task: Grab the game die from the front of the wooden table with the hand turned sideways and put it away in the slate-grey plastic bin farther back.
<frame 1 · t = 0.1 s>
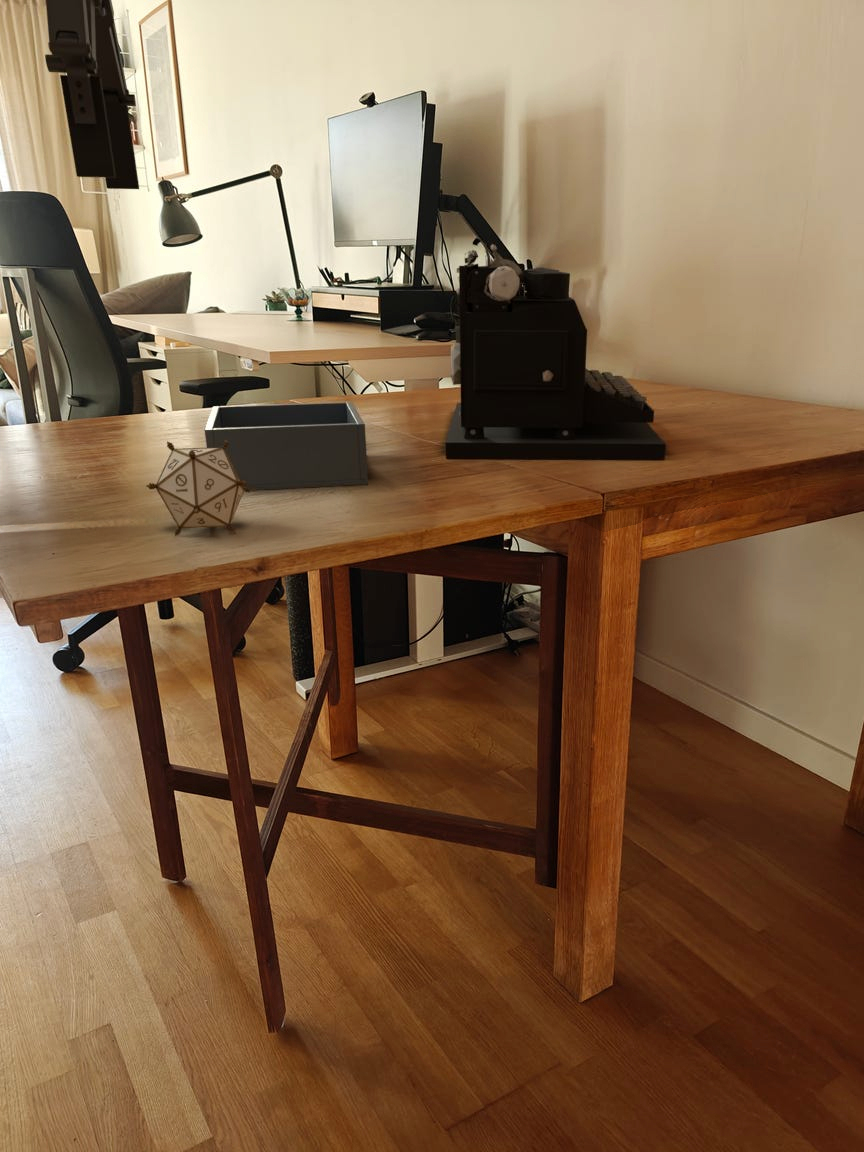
hand: (111, 184, 72), 29 cm above the table, tool pointing down, fingers open, 13 cm apart
bin: (289, 472, 100), on the table
game die: (207, 532, 79), on the table
typewriter: (548, 436, 121), on the table
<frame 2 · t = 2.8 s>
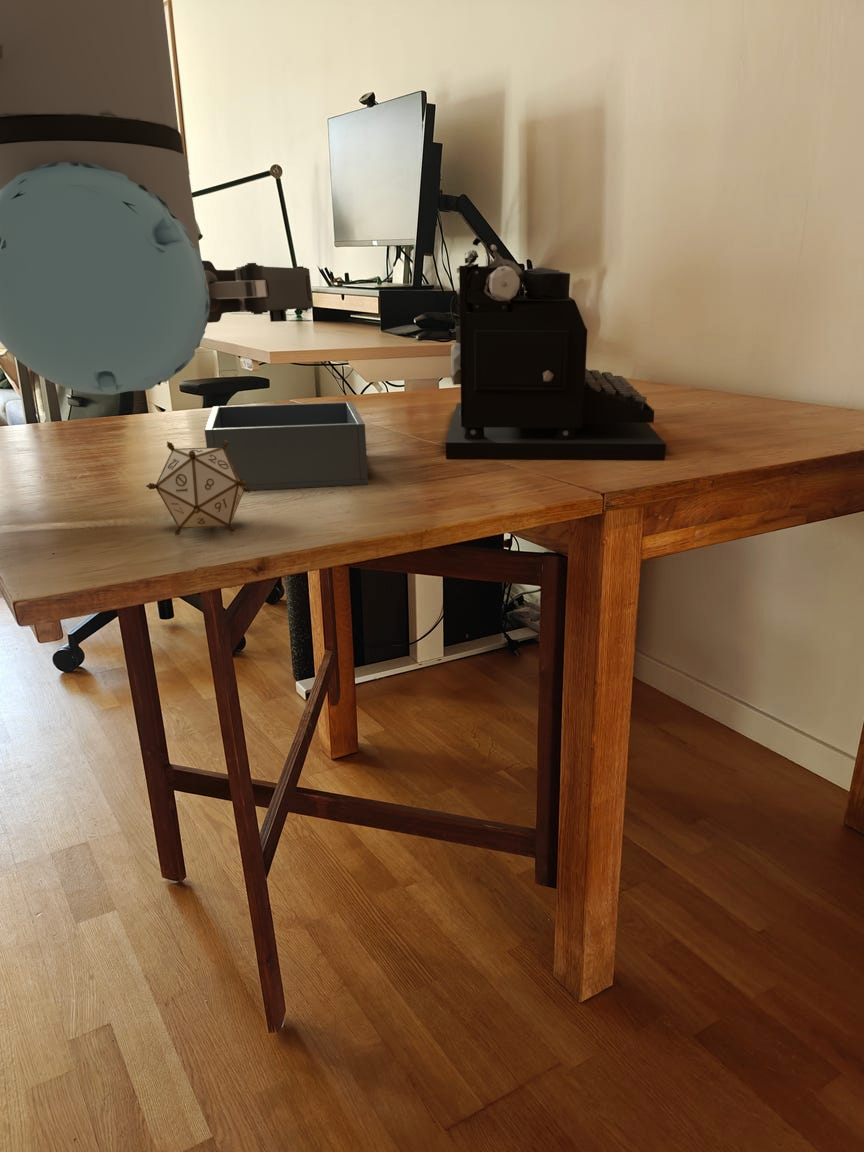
hand: (159, 296, 62), 20 cm above the table, tool horizontal, fingers open, 13 cm apart
nothing on the table moved.
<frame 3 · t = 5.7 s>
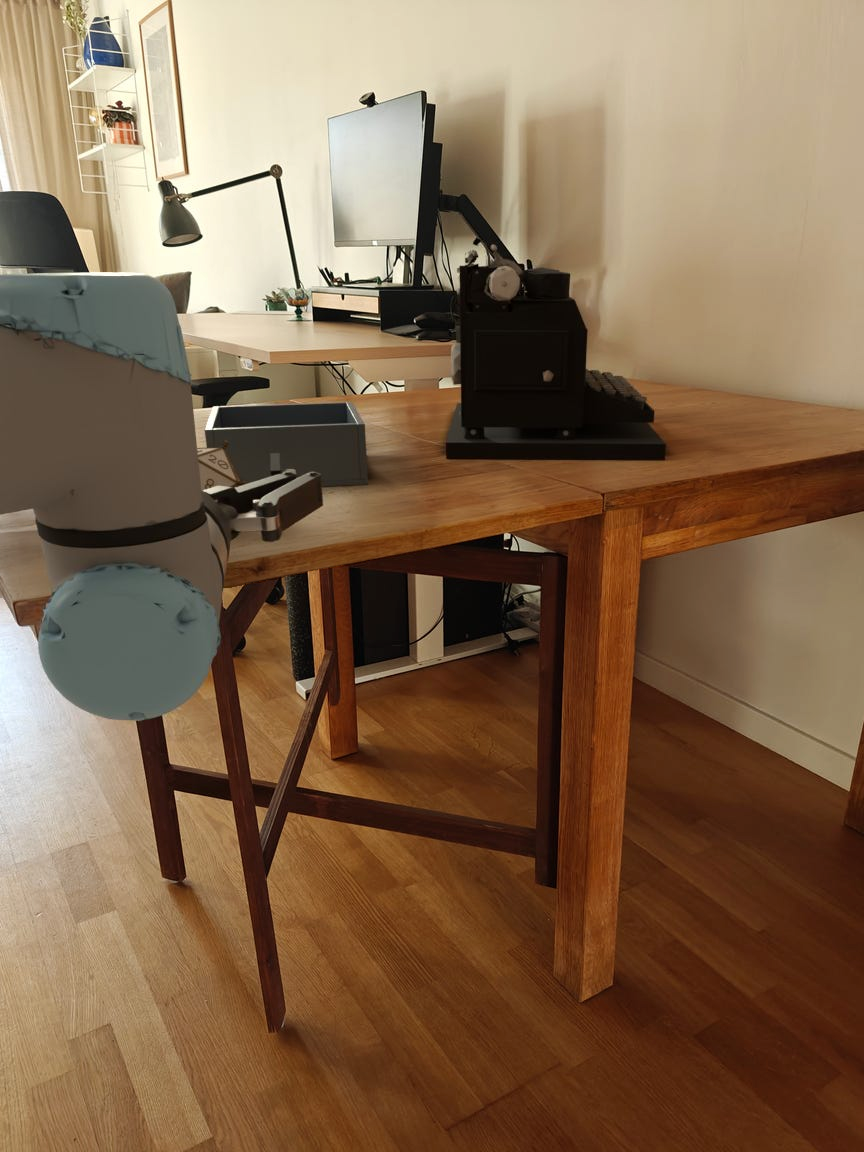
hand: (191, 473, 71), 7 cm above the table, tool horizontal, fingers open, 13 cm apart
nothing on the table moved.
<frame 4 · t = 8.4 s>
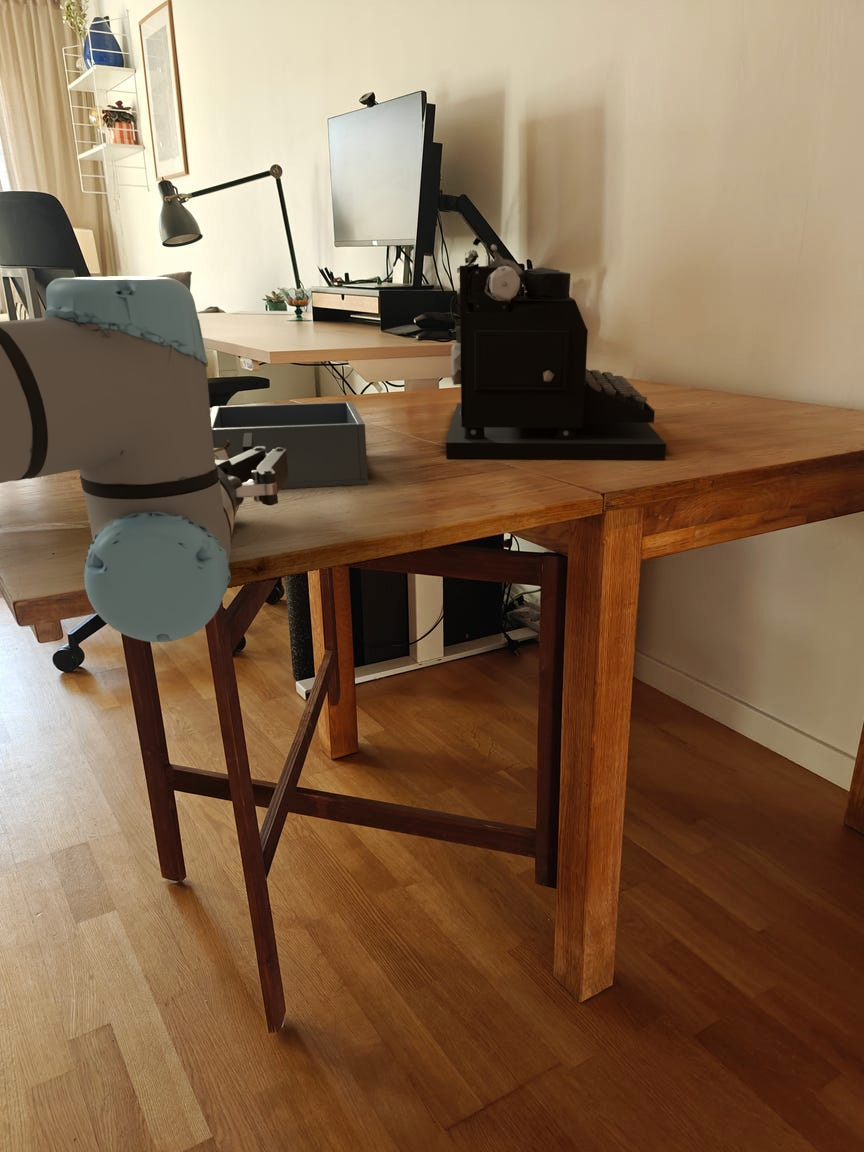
hand: (200, 449, 81), 7 cm above the table, tool horizontal, fingers closed on game die, 8 cm apart
game die: (208, 532, 79), on the table, touching gripper
everything else where it was.
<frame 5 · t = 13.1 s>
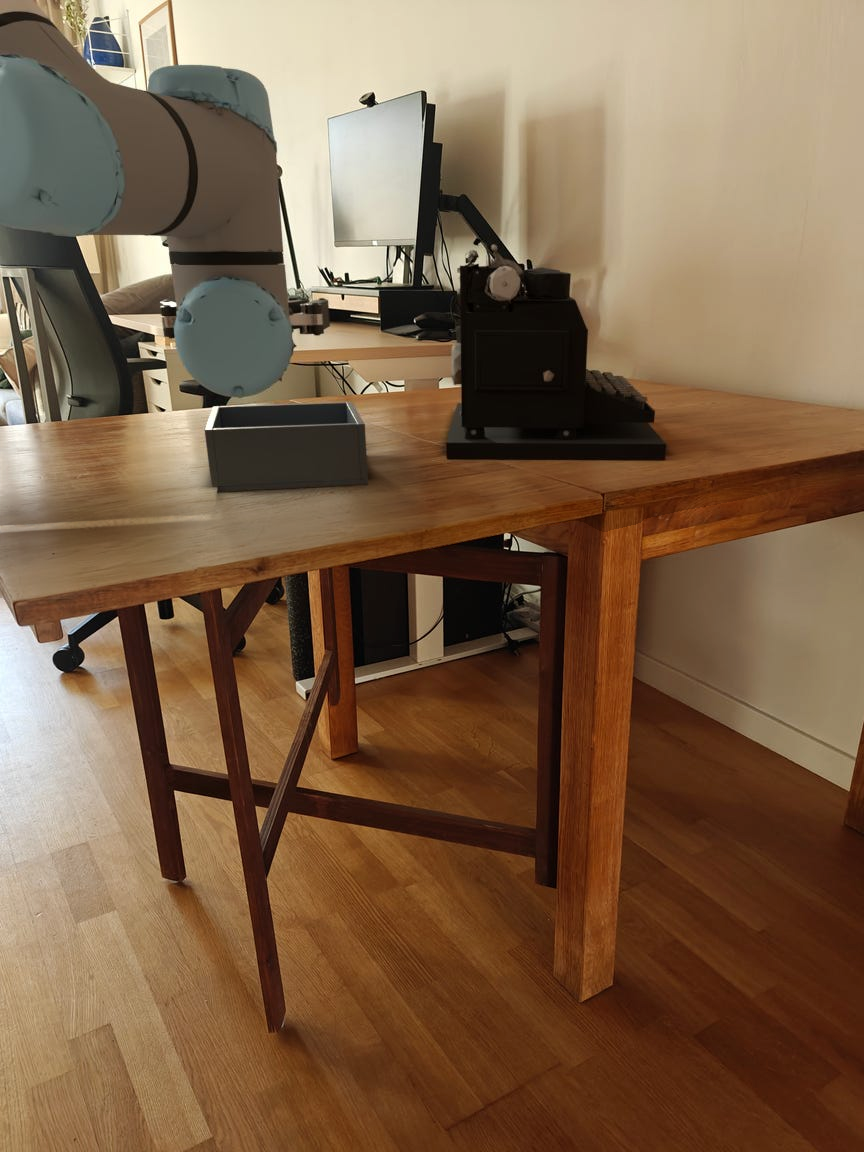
hand: (249, 309, 89), 18 cm above the table, tool horizontal, fingers closed on game die, 8 cm apart
game die: (256, 382, 88), point 11 cm above the table, touching gripper
everything else where it was.
when the fingers open (8 cm above the table, at t = 17.8 s): game die stays where it is, resting on bin.
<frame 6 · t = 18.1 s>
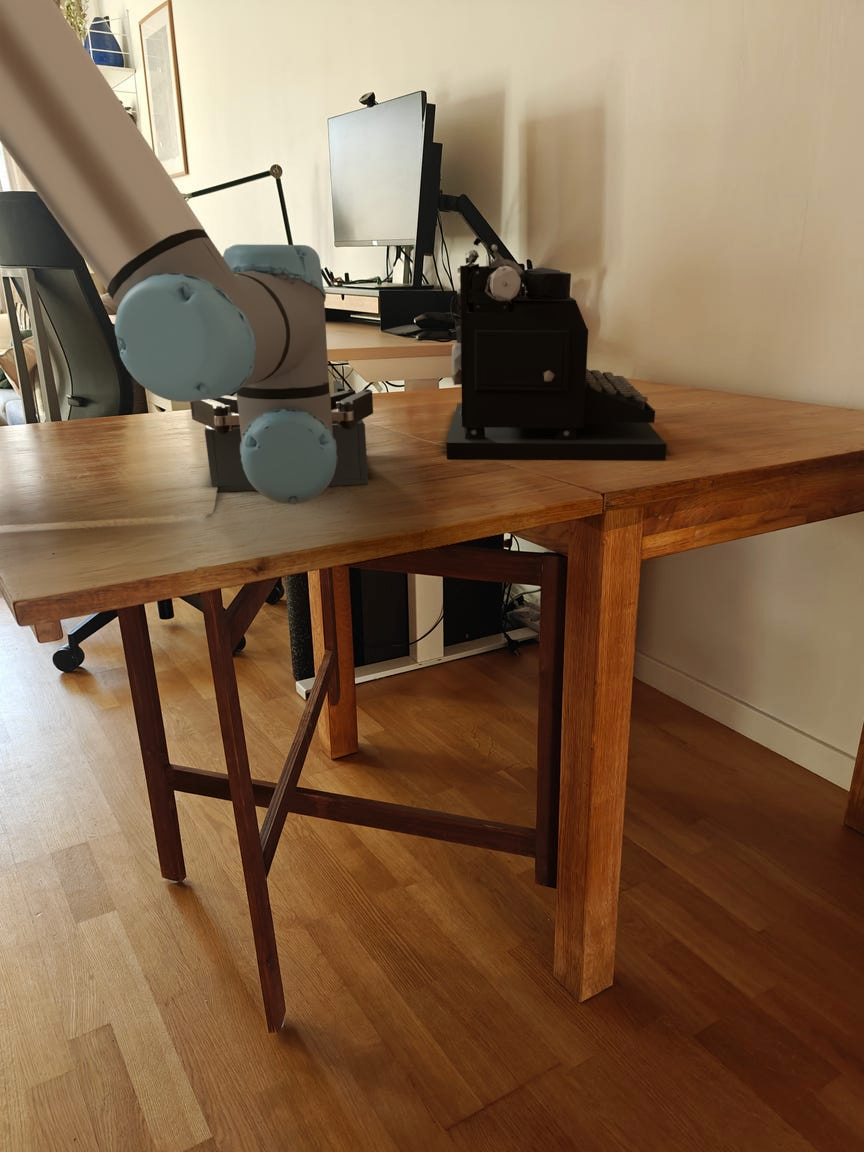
hand: (282, 394, 100), 8 cm above the table, tool horizontal, fingers open, 12 cm apart
game die: (291, 469, 100), resting on bin
everything else where it was.
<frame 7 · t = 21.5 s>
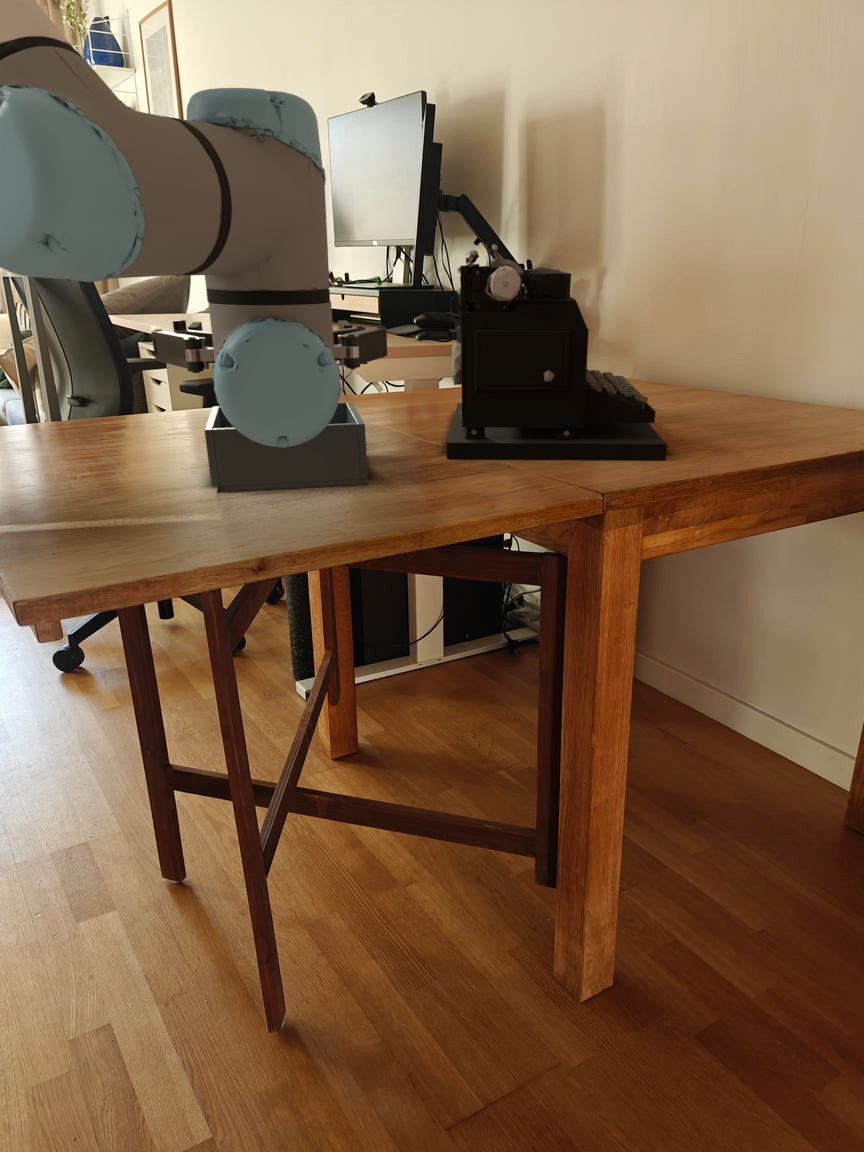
hand: (272, 335, 83), 16 cm above the table, tool horizontal, fingers open, 13 cm apart
nothing on the table moved.
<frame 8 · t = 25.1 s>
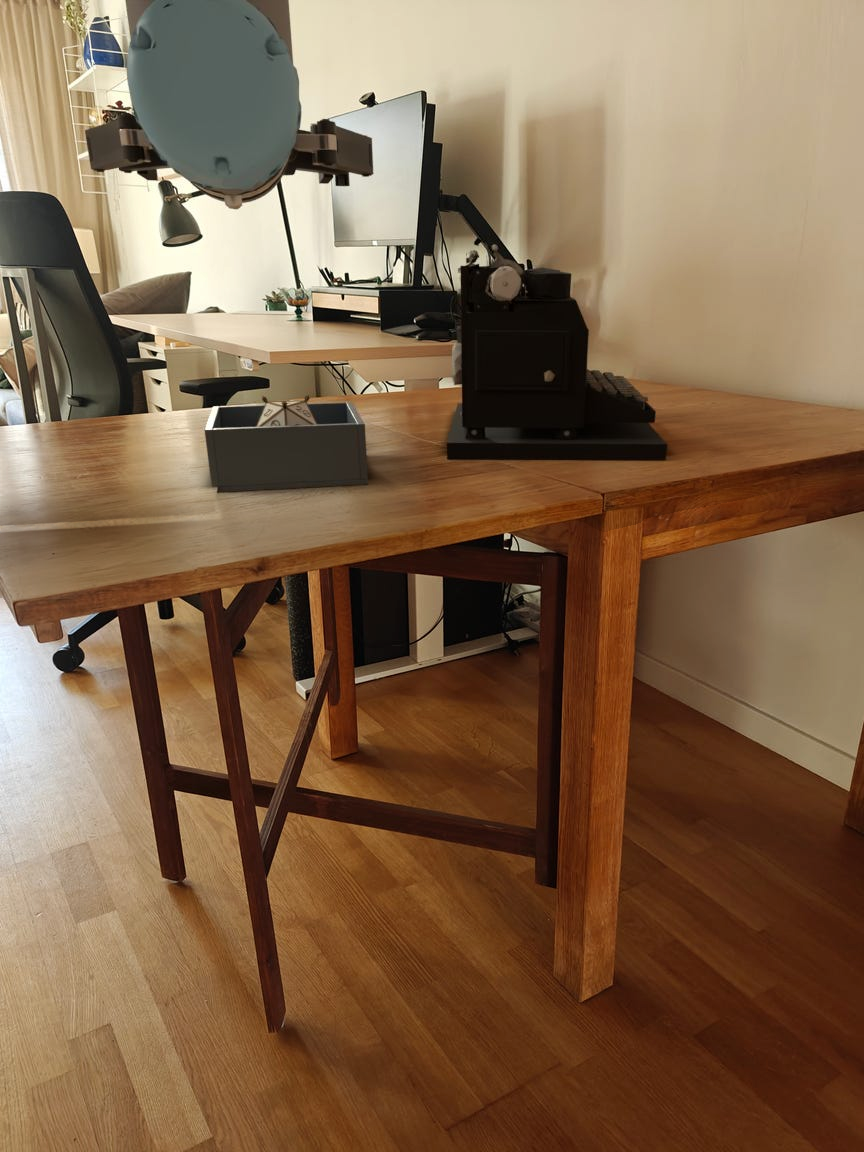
hand: (238, 163, 70), 30 cm above the table, tool horizontal, fingers open, 13 cm apart
nothing on the table moved.
at the end: game die inside the target area in the bin (0.3 cm from its centre), point 0.4 cm above the bin's base; the gripper is holding nothing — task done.
